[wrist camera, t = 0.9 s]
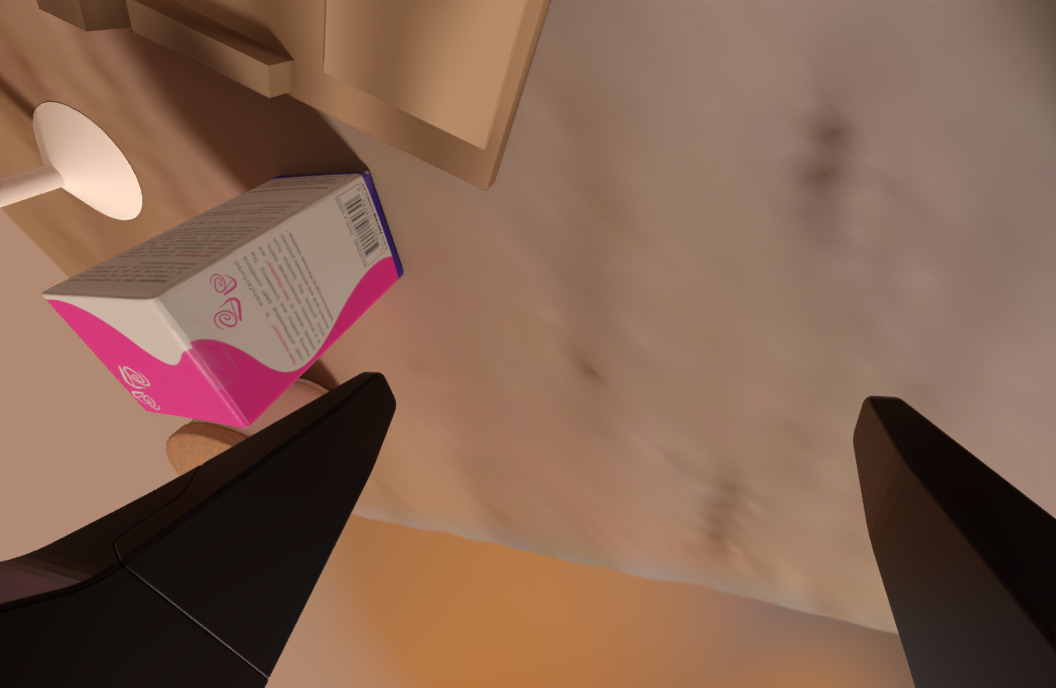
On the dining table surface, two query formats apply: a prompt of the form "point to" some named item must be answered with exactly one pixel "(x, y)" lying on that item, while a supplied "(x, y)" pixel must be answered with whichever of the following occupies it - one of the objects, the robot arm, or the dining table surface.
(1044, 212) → the dining table surface
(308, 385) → the lidded jar
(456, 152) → the click board
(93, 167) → the champagne flute
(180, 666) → the robot arm
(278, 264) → the supplement box
